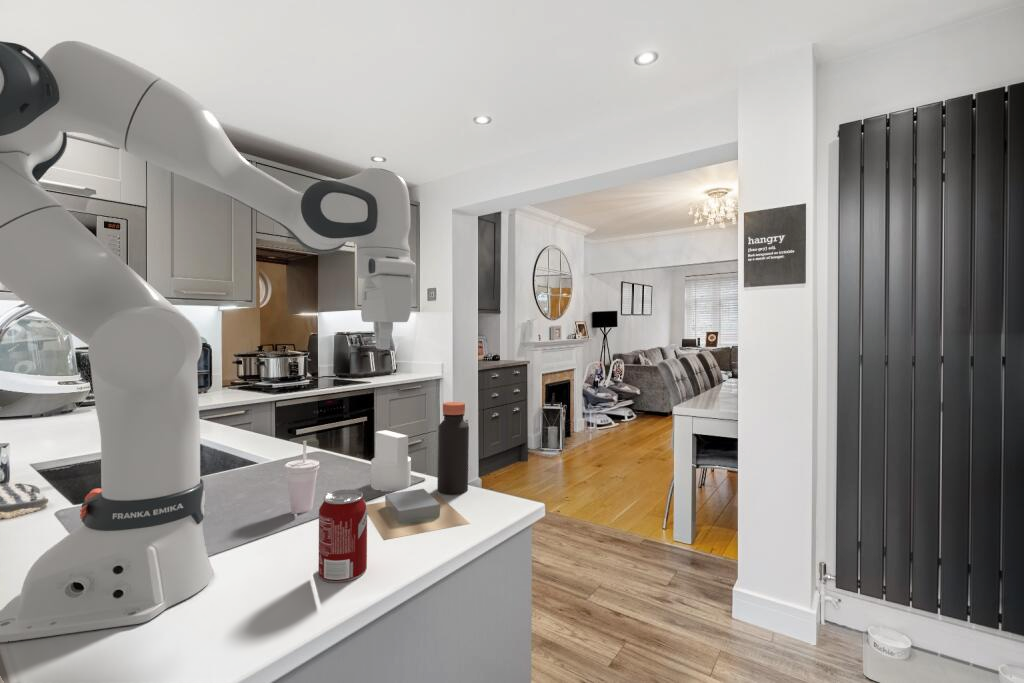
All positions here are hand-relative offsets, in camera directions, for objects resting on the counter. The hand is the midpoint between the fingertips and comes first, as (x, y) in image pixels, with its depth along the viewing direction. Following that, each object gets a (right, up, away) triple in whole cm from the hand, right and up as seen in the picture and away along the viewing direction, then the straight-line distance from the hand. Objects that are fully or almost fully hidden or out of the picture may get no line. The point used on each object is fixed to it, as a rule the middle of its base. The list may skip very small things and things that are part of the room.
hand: (382, 349), depth 84 cm
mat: (+3, -33, +11) cm, 35 cm away
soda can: (-3, -34, -12) cm, 36 cm away
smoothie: (-19, -33, +12) cm, 40 cm away
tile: (+5, -31, +8) cm, 32 cm away
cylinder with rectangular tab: (-6, -32, +30) cm, 45 cm away
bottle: (+9, -33, +25) cm, 42 cm away
